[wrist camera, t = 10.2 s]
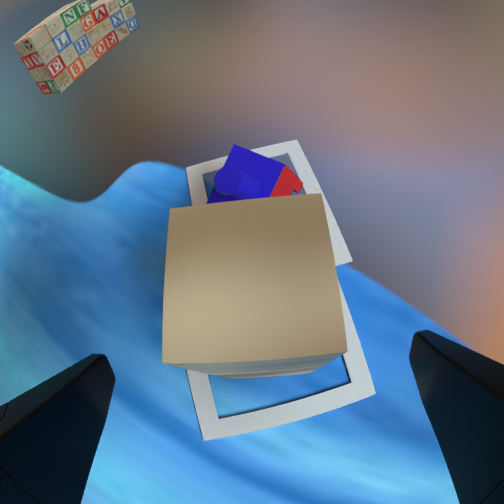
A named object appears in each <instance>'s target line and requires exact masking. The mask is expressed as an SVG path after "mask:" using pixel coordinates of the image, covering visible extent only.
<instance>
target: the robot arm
mask: <svg viewBox="0 0 504 504" xmlns="http://www.w3.org/2000/svg"><path fill="white" fill-rule="evenodd" d="M409 360H410V364H411V368H412V371H413V374H414V377H415V380H416V383H417V386H418V390H419V393H420V396H421V400H422V403H423V405H424V408H425V410H426V413H427V415H428V418H429V420H430V422H431V425H432V427H433V430H434V432H435V435H436V437H437V440H438V443H439V445H440V448H441V450H442V453H443V456H444V458H445V461H446V464H447V467H448V470H449V472H450V475H451V478H452V481H453V484H454V487H455V490H456V493H457V497H458V500H459V503H460V504H504V365H503V364H501V363H499V362H497V361H494V360H492V359H490V358H488V357H486V356H484V355H482V354H479V353H477V352H475V351H473V350H471V349H469V348H466V347H464V346H462V345H460V344H458V343H456V342H453V341H451V340H449V339H447V338H445V337H443V336H440V335H438V334H436V333H434V332H432V331H430V330H423V331H418V332H416V333H415V334H414V336H413V340H412V345H411V350H410V355H409ZM114 384H115V375H114V372H113V370H112V368H111V366H110V363H109V361H108V359H107V357H106V356H105V355H104V354H91V355H90V356H88V357H86V358H84V359H83V360H81V361H79V362H77V363H76V364H74V365H72V366H70V367H69V368H67V369H65V370H63V371H62V372H60V373H58V374H56V375H55V376H53V377H51V378H49V379H48V380H46V381H44V382H42V383H41V384H39V385H37V386H35V387H34V388H32V389H30V390H28V391H27V392H25V393H23V394H21V395H19V396H18V397H16V398H14V399H12V400H11V401H9V402H7V403H5V404H3V405H2V406H0V504H81V501H82V497H83V494H84V490H85V487H86V483H87V480H88V476H89V473H90V469H91V466H92V463H93V459H94V456H95V453H96V450H97V447H98V444H99V441H100V437H101V434H102V431H103V428H104V425H105V422H106V418H107V414H108V410H109V405H110V401H111V397H112V393H113V389H114Z"/></svg>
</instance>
